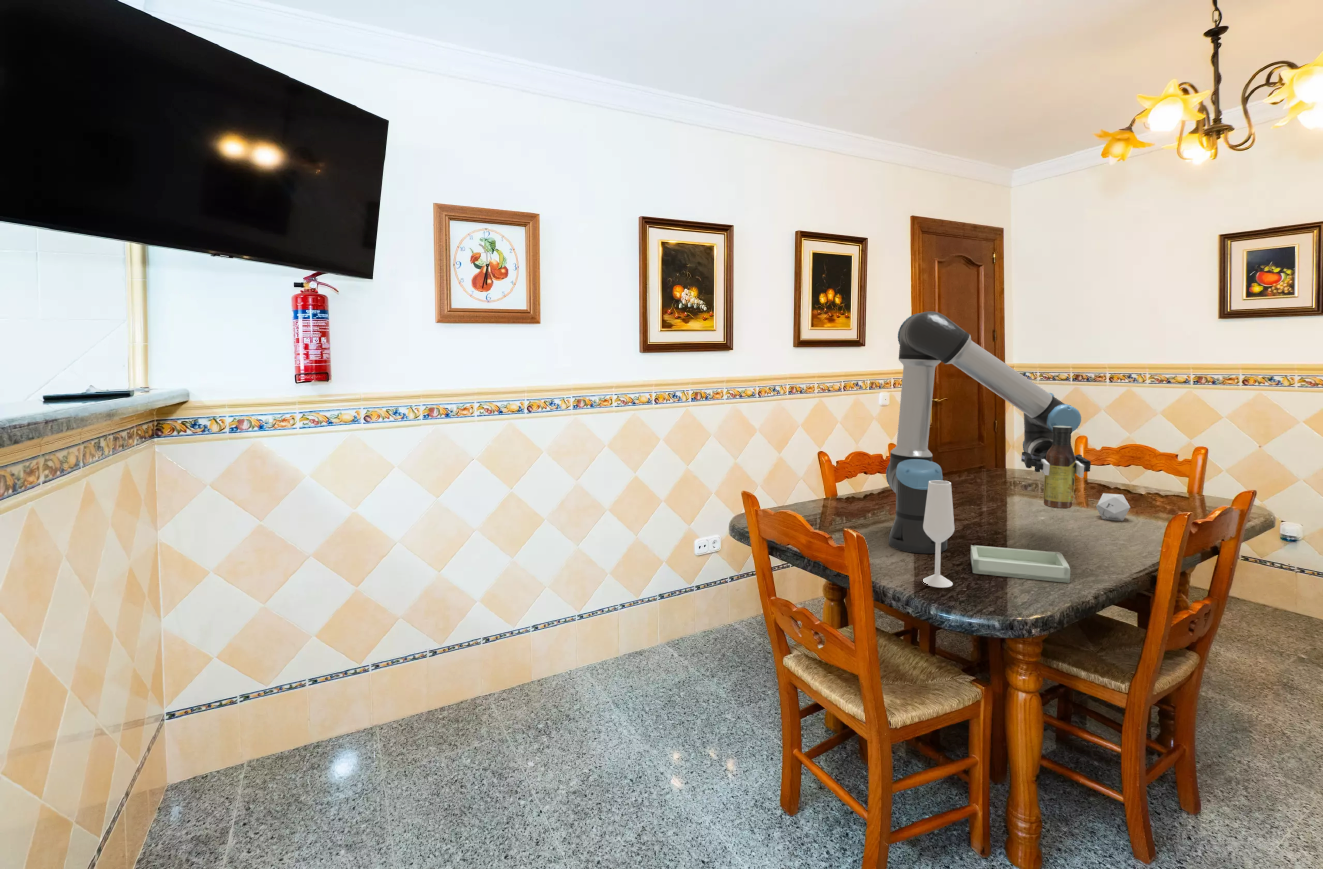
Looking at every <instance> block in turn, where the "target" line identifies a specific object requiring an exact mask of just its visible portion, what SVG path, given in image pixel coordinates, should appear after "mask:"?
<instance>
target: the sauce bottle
mask: <svg viewBox="0 0 1323 869" xmlns="http://www.w3.org/2000/svg"><path fill="white" fill-rule="evenodd" d="M1052 431H1053V441H1052V446H1051V448H1050V449H1049V450H1048V452H1047V454H1046V461H1047V462H1048V463H1049V464H1050V469H1049V475H1045V474H1044V478H1043V480H1044V481H1043V495H1042V496H1043V498H1042V499H1043V505H1044V506H1045V507H1047V508H1052V509H1061V510H1067V509H1071V508H1072V506H1073V501H1074V494H1075V478H1076V474H1075V464H1076V459H1075V455H1076V454H1075V452H1074V450H1073V446H1072V433H1073V432H1072V427H1071V426H1053V429H1052Z"/></svg>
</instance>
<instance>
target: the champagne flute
mask: <svg viewBox="0 0 1323 869" xmlns="http://www.w3.org/2000/svg"><path fill="white" fill-rule="evenodd" d="M952 491H953V490H952V482H950V481H948V480H943V481H941V480H933V481H929V484H928V492H927V499H926V507H925V515H924V523H923V529H924V531H925V533H926V534H927V535H928V536H929V537H930V538H931V539H932V540H933V541H934V542H936V544H935V553H934V574H932V575H929V576H926V577H925V578H922V579H923V582H924V583H926V584H928V585H927V586H930V587H933V588H950V587H952V586H953V585H954V584H953V582H952V581H951V580H950V579H948V578H946V577H945V576H943V575H942V574H941V558H942V557H941V555H942V554H941V553H942V552H941V543H942V542H944V541H945V540H947V541H948V539H949V538H950V537H951V536H953V534H954V533H955V518H954V504H953V492H952ZM923 582H922V583H923ZM924 583H923V584H924ZM926 584H925V585H926Z"/></svg>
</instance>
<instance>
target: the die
mask: <svg viewBox="0 0 1323 869" xmlns="http://www.w3.org/2000/svg"><path fill="white" fill-rule="evenodd" d="M1095 508H1096V510H1097V511H1098V513H1099V515H1100V517H1101V519H1102V520H1106V521H1120V522H1123V521H1124V519H1126V517H1127V515H1128V512H1129V510H1130V509H1131V506H1130V504H1129V503H1128V500H1127V499H1126V497H1125V496H1124V494H1119V493H1117V494H1116V493H1104V492H1103V493H1102V495H1101V496H1100V498H1099V500H1098V502H1097V504H1096V506H1095Z"/></svg>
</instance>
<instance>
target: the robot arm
mask: <svg viewBox="0 0 1323 869" xmlns="http://www.w3.org/2000/svg"><path fill="white" fill-rule="evenodd" d="M897 340H898V344H899V348H898V349H899V350H898V361H899V363H901V365H902V366H903V370H902V380H901V391H900V401H899V402H900V404H899V413H898V414H899V415H898V427H897V435H896V436H897V438H896V446H895V447H894V448H892V449H891V450H890V456H889V457H890V458H889V463H888V465H887V467H886V470H885V478H886V482H887V484H888V486H889V488H890V489H891V490H892V491H893V492H894V493H895V494H896V495H895V518H894V521H893V524H892V526H891V530H890V532H889V534H888V545H889V546H890V547H892V548H893V549H896V550H899V551H903V552H908V553H913V554H914V553H915V554H935V544H936V542H934V541H933V540H932V539H931V538H930V537H929V536H928V535H927V534H926V533H925V531H924V529H923V523H924V515H925V507H926V499H927V492H928V484H929V481H933V480H941V481H944V480H943V479H944V476H943V469H942V467H941V465H939V464H938V463H937V462H934V461H933V453H932V452H931V451H930V450H929V436H930V428H931V427H930V426H931V425H930V424H931V416H932V406H933V394H934V385H935V384H934V383H935V373H936V372H935V371H936V367H937V366H938V365H939V364H940V363H943V364H944V365H950V364H951V365H953V366H954V367H956V368H957V369H959V370H961V371H962V372H963V373H965V374H966V375H967V376H969V377H971V378H972V379H973V380H975V381H977V382H978V383H980V384H981V385H982V386H984V387H986V388H987V389H989V390H990V391H991V392H993V393H994V394H996V395H998V397H1000V398H1002V399H1003V400H1004V401H1006V402H1007V403H1009V404H1011V405H1012V406H1014V407H1015V408H1016V409H1018V410H1019V411H1020V412H1023V426H1024V427H1023V428H1024V432H1023V435H1024V436H1023V437H1024V438H1023V441H1022V450H1023V451H1022V452H1021V458H1020V459H1021V460H1020V461H1021V463H1023V464H1024V465H1025V466H1024V467H1025V468H1027V469H1032V467H1034V472H1035V473H1040V472H1042V473H1043V474H1044V476H1045V475H1049V469H1050V464H1049V463H1048V462H1047V461H1046V454H1047V452H1048V450H1049V449H1050V448H1051V446H1052V441H1053V431H1052V429H1053V426H1071V427H1072V433H1073V432H1074V431H1076V430H1078V428H1079V426H1080V425H1081V423H1082V415H1081V413H1080V411H1079V410H1078V409H1077V408H1076V407H1074V406H1072V405H1070V404H1068V403H1067V404H1066V403H1064V402H1063V401H1061V400H1060V399H1058V398H1057V397H1055V395H1054V393H1052V392H1049V391H1047V390H1045V389H1043V388H1042V387H1041V386H1039V385H1038V384H1036V383H1034V382H1033V381H1032V380H1030V379H1029V378H1027V377H1026V376H1025V375H1023V374H1021V372H1018V371H1017V370H1015V369H1014V368H1013V367H1011V366H1009V365H1008V364H1007V363H1005V362H1004V361H1002V360H1001V359H999V358H998V357H997V356H995V355H994V354H992V353H991V352H989V351H987V350H986V349H985V348H984V347H982V346H980V345H979V344H977V343H976V342H974V341H973V340H972V337H971V334H970V333H968V331H965V330H964V329H963V328H962V327H960V326H959V325H958V324H956V323H955V322H954V321H952V320H951V319H949V318H948V317H947V316H946V315H944V314H942V313H940V312H938V311H930V310H929V311H928V310H927V311H924V312H920V313H919V312H918V313H915V314H912V315H911V316H909V317H907V318H906V319H905V320H904V321H902V323H901V325H900V327H899V329H898V333H897ZM1074 455H1075V459H1076V464H1075V475H1077V477H1079V478H1084V475H1085V473H1088V472H1091V466H1092V464H1091V463H1092V461H1091V460H1090V459H1087V458H1085V457H1083V455H1082V454H1074ZM947 549H948V539H947V540H945V541H944V542H942V543H941V553H942V552H944V551H947Z"/></svg>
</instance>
